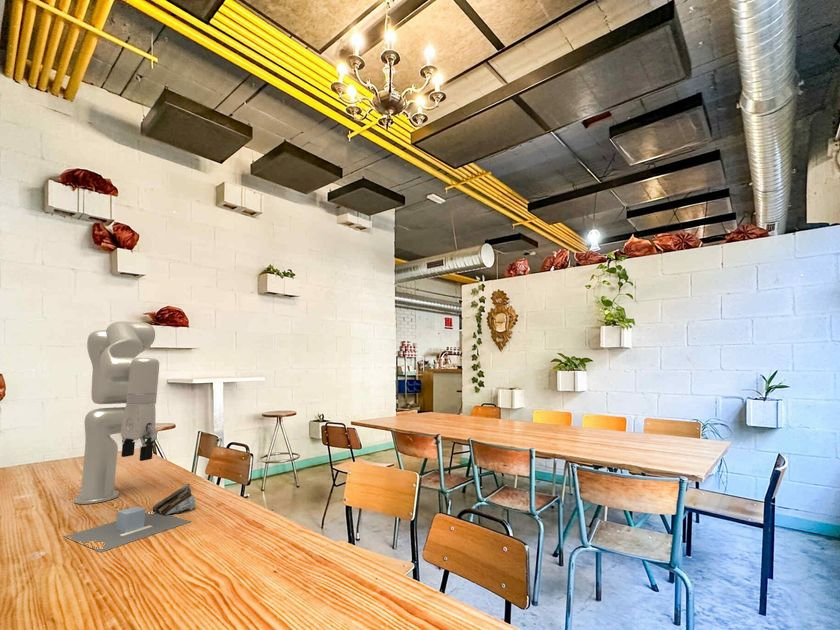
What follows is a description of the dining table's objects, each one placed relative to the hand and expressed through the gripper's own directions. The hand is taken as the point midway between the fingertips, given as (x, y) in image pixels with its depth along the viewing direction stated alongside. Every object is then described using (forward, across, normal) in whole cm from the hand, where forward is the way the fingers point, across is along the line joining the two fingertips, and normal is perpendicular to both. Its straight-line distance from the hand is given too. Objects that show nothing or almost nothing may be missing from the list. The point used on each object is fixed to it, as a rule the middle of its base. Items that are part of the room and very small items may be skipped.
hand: (136, 458), depth 122 cm
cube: (+20, 0, 0) cm, 20 cm away
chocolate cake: (+20, -2, +15) cm, 25 cm away
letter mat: (+20, 0, 0) cm, 20 cm away
